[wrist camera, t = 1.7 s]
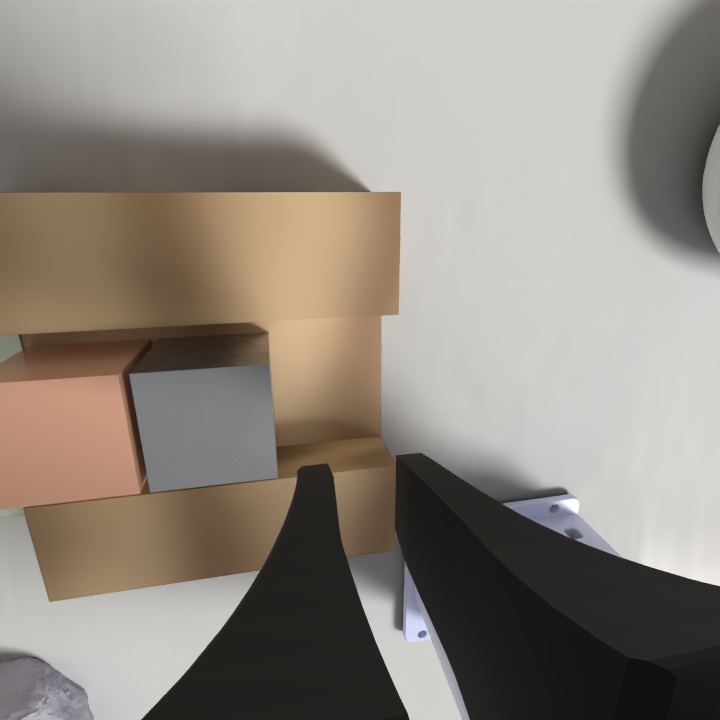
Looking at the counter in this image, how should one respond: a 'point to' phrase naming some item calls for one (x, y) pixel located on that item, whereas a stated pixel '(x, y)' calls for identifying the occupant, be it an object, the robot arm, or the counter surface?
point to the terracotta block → (70, 423)
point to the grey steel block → (206, 411)
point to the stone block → (39, 693)
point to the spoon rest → (712, 190)
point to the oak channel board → (203, 318)
